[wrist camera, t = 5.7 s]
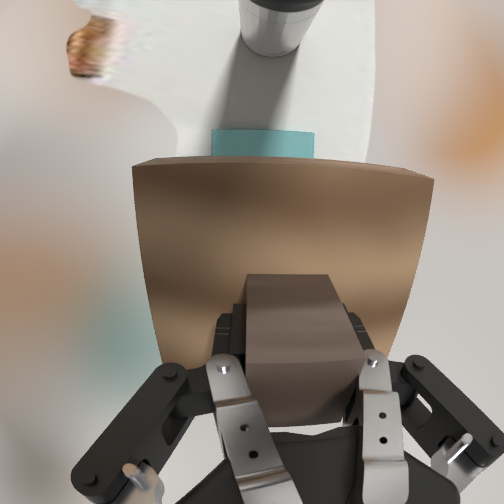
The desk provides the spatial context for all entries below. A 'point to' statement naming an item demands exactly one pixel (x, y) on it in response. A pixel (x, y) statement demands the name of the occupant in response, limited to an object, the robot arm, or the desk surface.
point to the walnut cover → (280, 267)
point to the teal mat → (262, 143)
